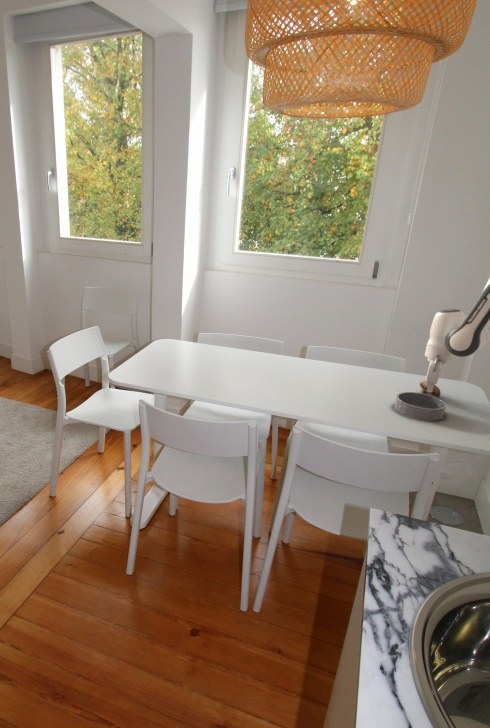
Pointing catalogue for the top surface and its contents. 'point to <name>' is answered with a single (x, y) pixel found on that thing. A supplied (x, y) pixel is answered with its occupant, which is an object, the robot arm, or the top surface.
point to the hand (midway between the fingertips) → (430, 387)
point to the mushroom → (434, 393)
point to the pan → (420, 406)
